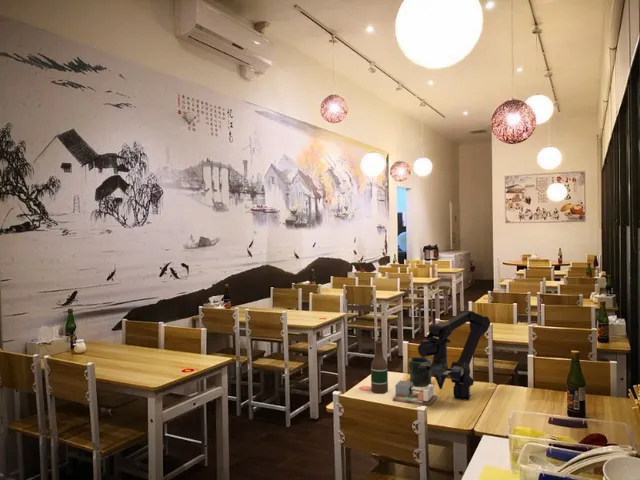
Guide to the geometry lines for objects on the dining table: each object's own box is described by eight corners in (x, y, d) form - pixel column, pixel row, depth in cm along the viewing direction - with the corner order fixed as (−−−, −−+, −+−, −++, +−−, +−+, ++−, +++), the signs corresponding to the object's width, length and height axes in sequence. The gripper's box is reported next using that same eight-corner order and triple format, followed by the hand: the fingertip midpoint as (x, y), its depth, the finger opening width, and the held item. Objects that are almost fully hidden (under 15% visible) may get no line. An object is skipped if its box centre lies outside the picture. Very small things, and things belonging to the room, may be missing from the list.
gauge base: (437, 397, 226) (437, 395, 226) (430, 406, 215) (430, 403, 215) (401, 392, 234) (401, 390, 234) (392, 400, 223) (392, 398, 223)
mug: (418, 388, 240) (417, 363, 239) (401, 380, 253) (400, 356, 253) (436, 385, 244) (436, 360, 244) (419, 377, 257) (418, 354, 257)
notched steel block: (413, 393, 230) (412, 382, 230) (408, 397, 224) (408, 386, 224) (400, 391, 233) (400, 380, 233) (395, 395, 227) (395, 384, 227)
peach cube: (424, 399, 220) (424, 392, 220) (422, 400, 219) (422, 393, 218) (419, 398, 221) (419, 391, 221) (418, 400, 219) (418, 393, 219)
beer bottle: (387, 394, 232) (386, 342, 232) (370, 393, 234) (369, 342, 233) (388, 389, 240) (387, 339, 239) (372, 388, 241) (371, 338, 241)
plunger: (433, 394, 226) (433, 384, 226) (427, 401, 217) (427, 391, 217) (414, 392, 230) (414, 382, 230) (407, 398, 221) (407, 388, 221)
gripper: (413, 355, 216) (414, 391, 216) (457, 360, 207) (458, 397, 208) (421, 350, 226) (422, 384, 226) (463, 353, 217) (464, 389, 218)
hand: (440, 389), depth 219 cm, fingers closed
